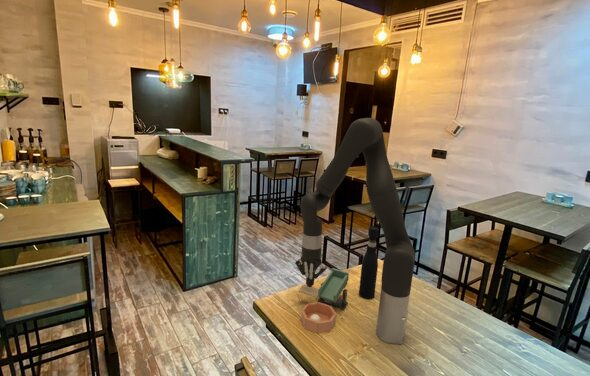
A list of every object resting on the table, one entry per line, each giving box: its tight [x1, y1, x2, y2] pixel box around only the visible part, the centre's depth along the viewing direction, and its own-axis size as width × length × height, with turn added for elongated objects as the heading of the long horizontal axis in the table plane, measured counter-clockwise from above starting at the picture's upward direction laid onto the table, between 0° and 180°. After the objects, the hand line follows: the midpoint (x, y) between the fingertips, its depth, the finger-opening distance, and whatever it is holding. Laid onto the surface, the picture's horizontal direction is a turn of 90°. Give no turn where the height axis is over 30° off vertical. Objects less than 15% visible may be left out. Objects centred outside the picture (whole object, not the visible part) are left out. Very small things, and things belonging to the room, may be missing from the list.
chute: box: [298, 267, 350, 303], centre depth 126 cm, size 15×15×6 cm
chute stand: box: [317, 282, 349, 311], centre depth 126 cm, size 11×5×7 cm, turn 61°
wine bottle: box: [358, 225, 380, 300], centre depth 129 cm, size 6×6×30 cm
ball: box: [310, 314, 321, 322], centre depth 111 cm, size 4×4×4 cm
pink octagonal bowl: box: [300, 301, 337, 335], centre depth 114 cm, size 12×12×4 cm
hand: (309, 285), depth 123 cm, fingers closed
